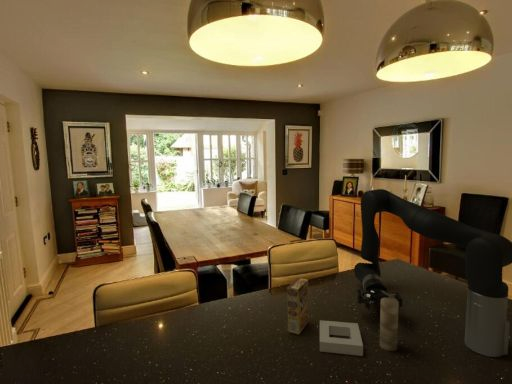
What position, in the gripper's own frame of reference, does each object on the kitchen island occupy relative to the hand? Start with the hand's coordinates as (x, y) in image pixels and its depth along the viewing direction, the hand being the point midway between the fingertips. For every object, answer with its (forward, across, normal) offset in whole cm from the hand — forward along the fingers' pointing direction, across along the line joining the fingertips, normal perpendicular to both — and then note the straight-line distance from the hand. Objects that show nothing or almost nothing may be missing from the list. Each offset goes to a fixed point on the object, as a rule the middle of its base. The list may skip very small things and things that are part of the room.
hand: (383, 308), depth 98 cm
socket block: (+9, -14, +8) cm, 18 cm away
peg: (+9, 0, +8) cm, 11 cm away
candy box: (+3, -27, +8) cm, 28 cm away
